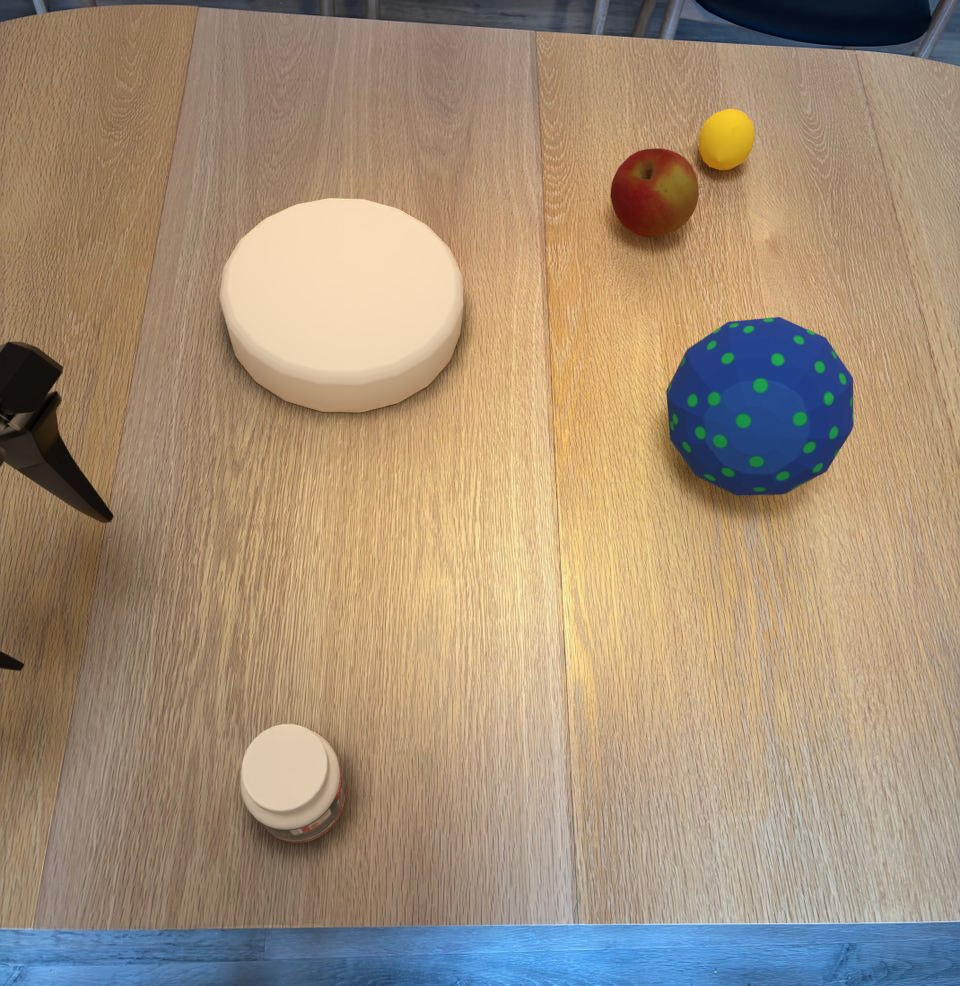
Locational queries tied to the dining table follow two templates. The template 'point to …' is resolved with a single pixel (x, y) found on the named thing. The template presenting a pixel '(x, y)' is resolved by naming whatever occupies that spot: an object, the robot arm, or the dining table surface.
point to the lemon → (726, 139)
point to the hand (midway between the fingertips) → (66, 590)
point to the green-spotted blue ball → (760, 406)
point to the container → (342, 304)
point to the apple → (654, 192)
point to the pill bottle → (292, 783)
